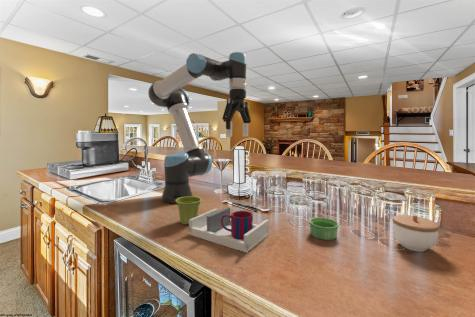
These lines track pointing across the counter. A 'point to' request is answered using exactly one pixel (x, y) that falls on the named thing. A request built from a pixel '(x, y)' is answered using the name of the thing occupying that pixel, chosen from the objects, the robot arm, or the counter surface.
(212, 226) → the panel
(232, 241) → the tray
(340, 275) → the counter surface
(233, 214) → the mug
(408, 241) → the lidded jar
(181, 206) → the plant pot
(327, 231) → the ramekin
